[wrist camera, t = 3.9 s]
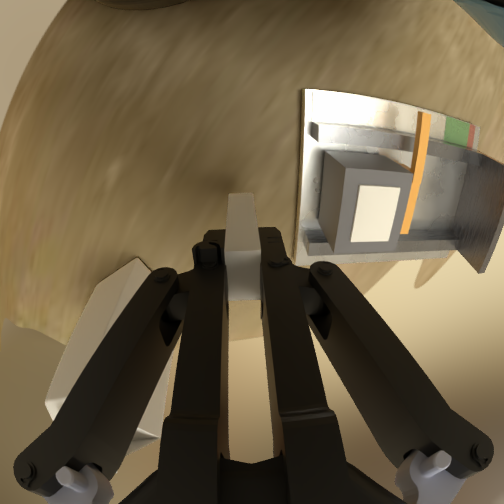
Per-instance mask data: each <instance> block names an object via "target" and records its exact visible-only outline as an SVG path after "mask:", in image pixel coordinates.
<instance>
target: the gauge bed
mask: <svg viewBox="0 0 504 504" xmlns="http://www.w3.org/2000/svg"><path fill="white" fill-rule="evenodd" d="M418 111H420V112H424V113H428V114H431V124H430V132H429V140H428V147H427V153H426V159H425V165H424V171H423V176H422V181H421V184H420V187H419V191H418V196H417V200H416V205H415V209H414V213H413V217H412V221H411V224H410V228H409V232H408V234H400V235H399V239H398V243H397V246H396V250H395V251H384V252H358V253H333V251H332V249H331V247H330V245H329V243H328V241H327V239H326V237H325V235H324V233H323V231H322V229H321V227H320V226H319V224H318V220H319V211H320V202H321V192H322V181H323V169H324V156H325V151H340V152H354V153H365V154H375V155H384V156H386V157H388V158H389V159H391V160H393V161H394V162H396V163H401V164H405V165H406V166H408V167H410V168H411V162H412V156H413V149H414V142H415V134H416V126H417V116H418ZM479 133H480V127H478V126H475V125H473V124H470V123H467V122H465V121H462V120H459V119H456V118H453V117H450V116H447V115H444V114H440V113H437V112H434V111H430V110H427V109H423V108H419V107H415V106H411V105H407V104H403V103H398V102H394V101H389V100H384V99H379V98H373V97H368V96H362V95H355V94H348V93H340V92H332V91H322V90H311V89H302V113H301V144H300V166H299V185H298V201H297V216H296V230H295V243H294V254H293V259H294V263H295V265H296V266H300V265H312V264H313V263H315V262H317V261H328V262H331V263H334V264H344V263H364V262H383V261H401V260H417V259H433V258H447V256H448V253H449V250H458V251H459V252H460V254H461V255H462V256H463V257H464V258H465V259H466V260H467V261H468V262H469V263H470V265H471V266H472V267H473V268H474V269H475V270H476V271H477V273H478V274H479V273H484V272H485V270H486V267H487V265H488V263H489V261H490V258H491V256H492V254H493V251H494V249H495V246H496V244H497V241H498V239H499V236H500V234H501V231H502V228H503V225H504V164H503V163H501V162H499V161H497V160H495V159H494V158H492V157H490V156H488V155H486V154H484V153H482V152H480V151H478V150H477V146H478V140H479Z"/></svg>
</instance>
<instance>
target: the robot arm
mask: <svg viewBox="0 0 504 504" xmlns="http://www.w3.org/2000/svg"><path fill="white" fill-rule="evenodd" d="M95 1H97V2H100V3H102V4H104V5H106V6H109V7H113V8H117V9H125V10H146V9H155V8H161V7H166V6H171V5H175V4H179V3H182V2H186V1H189V0H95ZM453 1H455V2H456V3H457V4H458V5H459V6H460V7H461V8H462V9H464V10H465V11H466V12H467V13H468V14H469V15H470V16H471V17H472V18H473V19H474V20H475V21H476V22H477V23H478V24H479V25H480V26H481V27H482V28H483V29H484V30H485V31H486V32H487V33H488V34H489V35H490V36H491V37H492V38H493V39H494V40H495V41H497V42H498V43H499V44H500V45H501V46H503V47H504V0H453ZM192 253H193V259H194V269H192V270H190V271H188V272H185V273H181V274H177V272H176V271H175V270H174V269H172V268H169V267H163V268H159V269H156V270H154V271H152V272H151V273H150V274H149V275H148V276H147V278H146V279H145V280H144V282H143V283H142V284H141V286H140V287H139V289H138V290H137V291H136V293H135V294H134V295H133V297H132V298H131V300H130V301H129V302H128V304H127V305H126V307H125V308H124V309H123V311H122V312H121V314H120V315H119V317H118V318H117V319H116V321H115V322H114V324H113V325H112V327H111V328H110V330H109V331H108V333H107V334H106V336H105V337H104V339H103V340H102V342H101V343H100V345H99V346H98V348H97V349H96V351H95V352H94V354H93V355H92V357H91V358H90V360H89V362H88V363H87V365H86V366H85V368H84V369H83V371H82V373H81V374H80V376H79V378H78V379H77V381H76V383H75V384H74V386H73V387H72V389H71V391H70V393H69V394H68V396H67V398H66V399H65V401H64V403H63V405H62V406H61V408H60V410H59V412H58V413H57V415H56V417H55V419H54V421H53V423H52V424H51V426H50V427H49V428H48V429H46V430H45V431H44V432H43V433H42V434H41V435H40V436H39V437H38V438H37V439H36V440H34V442H32V443H31V444H30V445H29V446H28V447H27V448H26V449H25V450H24V451H23V452H21V453H20V455H18V457H17V458H16V460H15V462H14V466H13V468H14V475H15V478H16V480H17V482H18V483H19V484H20V485H21V487H23V488H24V489H26V490H28V491H31V492H33V493H35V494H38V495H40V496H42V497H44V498H45V500H46V501H47V502H48V504H109V502H110V500H111V499H112V498H113V496H114V493H113V490H112V486H111V484H110V482H109V481H110V480H111V479H112V477H113V476H114V474H115V473H116V472H117V470H118V469H119V467H120V465H121V463H122V461H123V459H124V457H125V455H126V453H127V451H128V448H129V446H130V444H131V441H132V439H133V437H134V434H135V432H136V430H137V428H138V425H139V423H140V421H141V419H142V416H143V414H144V412H145V410H146V408H147V405H148V403H149V401H150V399H151V397H152V394H153V392H154V390H155V388H156V386H157V384H158V381H159V379H160V377H161V375H162V373H163V371H164V369H165V366H166V364H167V362H168V360H169V358H170V356H171V354H172V352H173V350H174V348H175V345H176V343H177V341H178V339H179V337H180V335H181V333H182V336H181V342H180V348H179V355H178V362H177V368H176V375H175V382H174V390H173V397H172V406H171V412H170V415H169V416H167V417H166V418H165V420H164V422H163V427H162V434H161V443H160V453H159V463H158V470H156V471H155V472H153V473H152V474H151V475H150V476H149V477H148V478H146V479H145V480H144V481H143V482H142V483H141V484H140V485H139V486H138V487H137V488H136V489H135V490H134V491H132V492H131V493H130V494H129V495H128V496H127V497H126V498H124V499H123V500H122V501H121V502H120V503H119V504H450V503H451V502H452V500H453V499H454V498H455V496H456V494H457V493H458V491H459V490H460V488H461V487H462V485H463V483H464V482H465V480H466V479H467V478H468V477H470V476H472V475H474V474H476V473H478V472H480V471H482V470H484V469H485V468H486V467H488V465H489V464H490V462H491V461H492V458H493V454H494V447H493V444H492V441H491V439H490V438H489V437H488V436H487V435H486V434H484V433H483V432H482V431H480V430H479V429H478V428H476V427H475V426H473V425H472V424H471V423H469V422H468V421H467V420H465V419H464V418H463V417H461V416H460V415H458V414H457V413H456V412H454V411H453V410H451V409H450V407H449V406H448V404H447V403H446V401H445V400H444V399H443V397H442V396H441V394H440V393H439V392H438V390H437V389H436V387H435V386H434V385H433V384H432V382H431V381H430V379H429V378H428V376H427V375H426V374H425V373H424V371H423V370H422V368H421V367H420V366H419V364H418V363H417V362H416V361H415V359H414V358H413V357H412V355H411V354H410V353H409V351H408V350H407V349H406V348H405V346H404V345H403V344H402V342H401V341H400V340H399V339H398V337H397V336H396V335H395V334H394V332H393V331H392V330H391V329H390V327H389V326H388V325H387V324H386V322H385V321H384V320H383V319H382V318H381V316H380V315H379V314H378V313H377V312H376V310H375V309H374V308H373V307H372V305H371V304H370V303H369V302H368V301H367V300H366V298H365V297H364V296H363V295H362V294H361V292H360V291H359V290H358V289H357V288H356V287H355V285H354V284H353V283H352V282H351V281H350V280H349V278H348V277H347V276H346V275H345V274H344V273H343V272H342V270H341V269H340V268H339V267H338V266H337V265H335V264H334V263H331V262H328V261H317V262H315V263H313V264H312V265H311V266H310V269H308V268H302V267H298V266H296V265H294V264H292V261H291V260H290V258H288V257H287V255H286V251H285V247H284V244H283V240H282V236H281V233H280V231H279V230H278V229H277V228H276V227H259V228H258V224H257V217H256V210H255V203H254V196H253V193H229V196H228V208H227V221H226V229H222V230H208V232H207V233H206V234H205V235H204V238H203V241H202V242H199V243H197V244H196V245H194V246H193V248H192ZM236 300H261V319H262V326H263V336H264V346H265V357H266V367H267V379H268V389H269V400H270V410H271V422H272V433H273V454H274V455H273V456H274V458H271V459H268V460H265V461H261V462H257V463H253V464H250V463H244V462H239V461H234V460H230V453H229V452H230V451H229V439H228V438H229V434H228V341H229V304H228V301H236ZM309 326H310V328H311V330H312V331H313V333H314V335H315V336H316V338H317V340H318V341H319V343H320V345H321V346H322V348H323V350H324V351H325V353H326V355H327V356H328V358H329V360H330V362H331V363H332V365H333V367H334V369H335V370H336V372H337V374H338V375H339V377H340V378H341V380H342V382H343V384H344V386H345V387H346V389H347V391H348V392H349V394H350V396H351V398H352V399H353V401H354V403H355V405H356V406H357V408H358V409H359V411H360V413H361V415H362V417H363V418H364V420H365V422H366V424H367V425H368V427H369V429H370V431H371V432H372V434H373V436H374V437H375V439H376V441H377V443H378V445H379V446H380V448H381V449H382V451H383V452H384V454H385V455H386V457H387V458H388V459H389V460H390V461H391V462H392V464H393V465H394V466H395V467H396V468H398V470H397V473H396V478H395V484H396V486H397V487H399V488H400V490H401V491H402V494H403V498H404V499H403V500H401V499H400V498H398V497H397V496H395V495H394V494H392V493H390V492H389V491H388V490H386V489H385V488H383V487H382V486H381V485H379V484H378V483H376V482H375V481H374V480H372V479H371V478H370V477H368V476H366V475H365V474H364V473H363V472H361V471H360V470H359V469H357V468H356V467H355V466H353V465H352V464H350V463H348V462H346V457H345V452H344V448H343V443H342V438H341V434H340V430H339V425H338V420H337V417H336V414H335V413H334V411H333V410H331V409H329V407H328V405H327V400H326V396H325V391H324V387H323V383H322V378H321V374H320V370H319V366H318V361H317V357H316V353H315V349H314V345H313V340H312V337H311V332H310V329H309Z"/></svg>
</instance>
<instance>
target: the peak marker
mask: <svg viewBox="0 0 504 504" xmlns="http://www.w3.org/2000/svg"><path fill="white" fill-rule="evenodd" d="M430 124H431V114H428V113H424V112H420V111H418V116H417V126H416V134H415V142H414V149H413V156H412V162H411V168H410V167H408V166H406V165H405V164H401V163H397V164H399V165H401V166H402V167H404V168H405V169H407V170H409V171H410V172H412V173H413V180H412V185H411V190H410V194H409V199H408V204H407V208H406V212H405V216H404V220H403V224H402V228H401V232H400V234H408V232H409V228H410V224H411V221H412V217H413V213H414V209H415V205H416V200H417V196H418V191H419V187H420V184H421V181H422V176H423V171H424V165H425V159H426V153H427V147H428V140H429V132H430Z"/></svg>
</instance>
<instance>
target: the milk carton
mask: <svg viewBox="0 0 504 504" xmlns="http://www.w3.org/2000/svg"><path fill="white" fill-rule="evenodd" d="M150 273H151V271H150V270H149V269H148V268H147V267H146V266H145V265H144V264H143V263H142V262H141V260H140V259H139V258H135V259H134V260H132V261H131V262H129V263H128V264H126V265H125V266H123V267H122V268H120V269H119V270H117V271H116V272H114V273H113V274H111V275H110V276H108V277H107V278H105V279H104V280H102V281H101V282H100V283H98V284H97V285H96V287H95V289H94V291H93V293H92V295H91V296H90V298H89V300H88V302H87V304H86V306H85V308H84V310H83V312H82V314H81V316H80V318H79V320H78V322H77V324H76V326H75V328H74V330H73V333H72V335H71V337H70V339H69V341H68V344H67V346H66V348H65V350H64V353H63V355H62V358H61V360H60V362H59V365H58V367H57V370H56V372H55V375H54V377H53V380H52V383H51V385H50V388H49V391H48V393H47V396H46V400H45V405H46V407H47V409H48V411H49V413H50V415H51V418H52V420H53V421H54V419H55V417H56V415H57V413H58V412H59V410H60V408H61V406H62V405H63V403H64V401H65V399H66V398H67V396H68V394H69V393H70V391H71V389H72V387H73V386H74V384H75V383H76V381H77V379H78V378H79V376H80V374H81V373H82V371H83V369H84V368H85V366H86V365H87V363H88V362H89V360H90V358H91V357H92V355H93V354H94V352H95V351H96V349H97V348H98V346H99V345H100V343H101V342H102V340H103V339H104V337H105V336H106V334H107V333H108V331H109V330H110V328H111V327H112V325H113V324H114V322H115V321H116V319H117V318H118V317H119V315H120V314H121V312H122V311H123V309H124V308H125V307H126V305H127V304H128V302H129V301H130V300H131V298H132V297H133V295H134V294H135V293H136V291H137V290H138V289H139V287H140V286H141V284H142V283H143V282H144V280H145V279H146V278H147V276H148V275H149V274H150ZM173 351H174V350H173ZM172 357H173V352H172V354H171V356H170V358H169V360H168V362H167V364H166V366H165V369H164V371H163V373H162V375H161V377H160V379H159V381H158V384H157V386H156V388H155V390H154V392H153V394H152V397H151V399H150V401H149V403H148V405H147V408H146V410H145V412H144V414H143V416H142V419H141V421H140V423H139V425H138V428H137V430H136V432H135V434H134V437H133V439H132V441H131V444H130V446H129V448H128V451H127V453H126V455H125V456H127V455H129V454H131V453H133V452H135V451H137V450H139V449H141V448H143V447H145V446H147V445H149V444H151V443H153V442H155V441H157V440H159V439H160V438H161V432H162V423H163V416H164V408H165V401H166V394H167V387H168V381H169V375H170V368H171V362H172ZM117 471H118V470H117ZM116 473H117V472H116Z"/></svg>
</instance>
